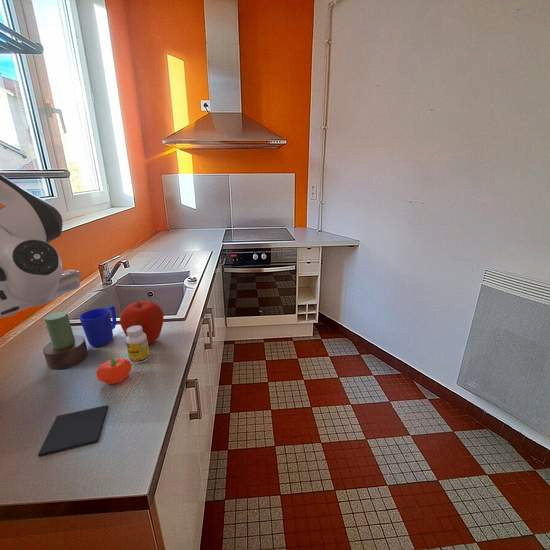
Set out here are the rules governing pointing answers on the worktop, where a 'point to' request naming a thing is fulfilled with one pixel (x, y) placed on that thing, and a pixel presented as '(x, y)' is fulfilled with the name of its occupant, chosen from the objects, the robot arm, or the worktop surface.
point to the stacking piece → (60, 330)
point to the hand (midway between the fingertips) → (32, 304)
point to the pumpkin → (114, 371)
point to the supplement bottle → (137, 345)
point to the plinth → (66, 354)
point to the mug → (99, 325)
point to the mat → (74, 430)
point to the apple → (143, 318)
